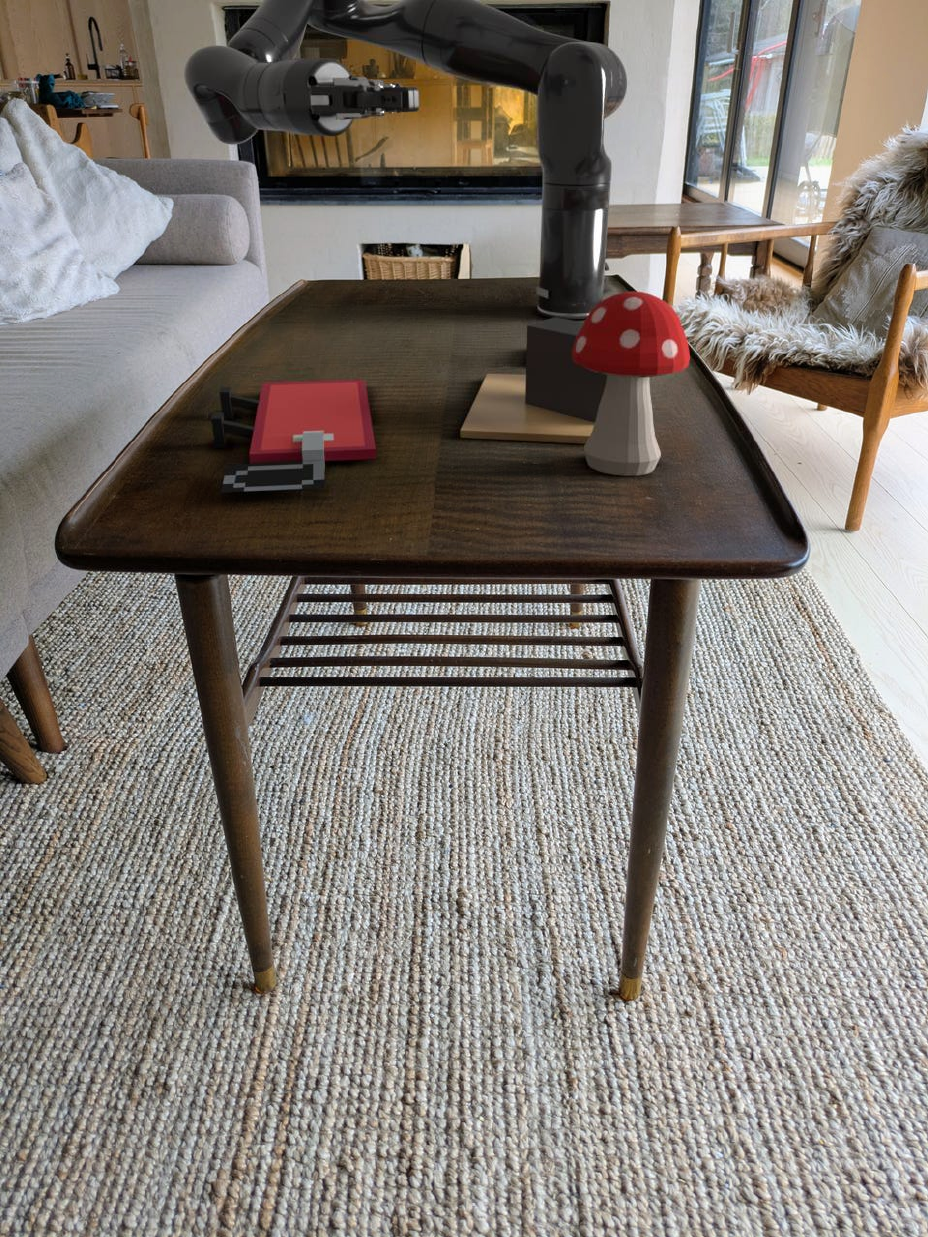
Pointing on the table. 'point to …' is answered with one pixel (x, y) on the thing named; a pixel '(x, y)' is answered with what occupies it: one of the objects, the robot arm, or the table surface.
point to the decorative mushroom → (628, 376)
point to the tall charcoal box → (560, 371)
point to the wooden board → (518, 415)
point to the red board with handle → (296, 433)
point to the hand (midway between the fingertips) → (413, 99)
